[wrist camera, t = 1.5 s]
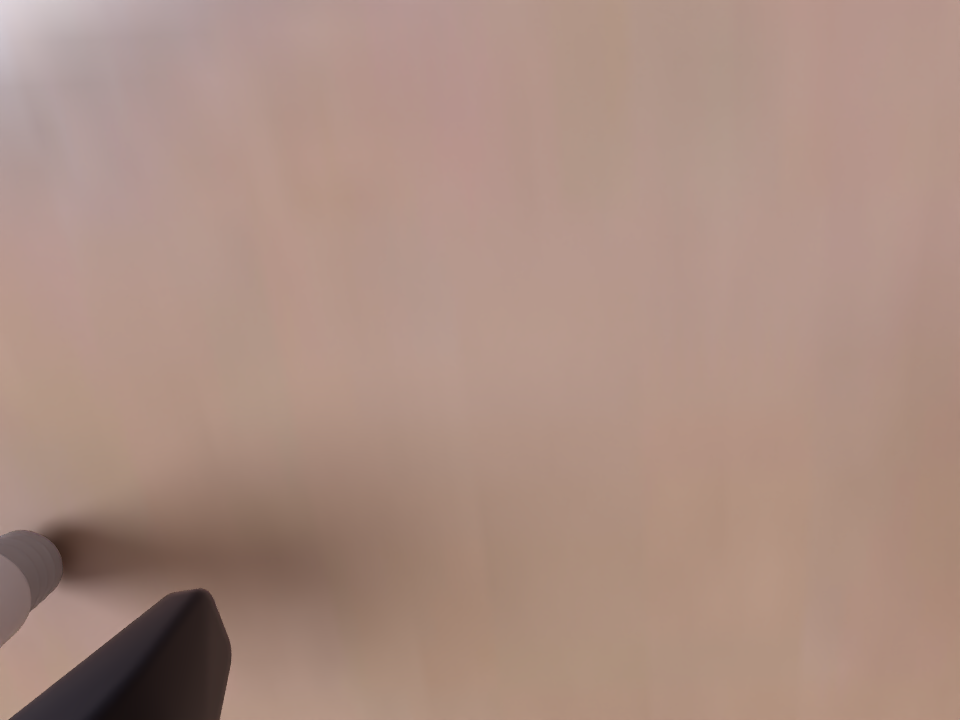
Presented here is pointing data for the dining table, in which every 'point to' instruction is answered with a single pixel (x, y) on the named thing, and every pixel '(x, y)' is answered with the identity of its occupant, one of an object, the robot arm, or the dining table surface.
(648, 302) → the dining table surface
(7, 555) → the lightbulb
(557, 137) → the dining table surface
